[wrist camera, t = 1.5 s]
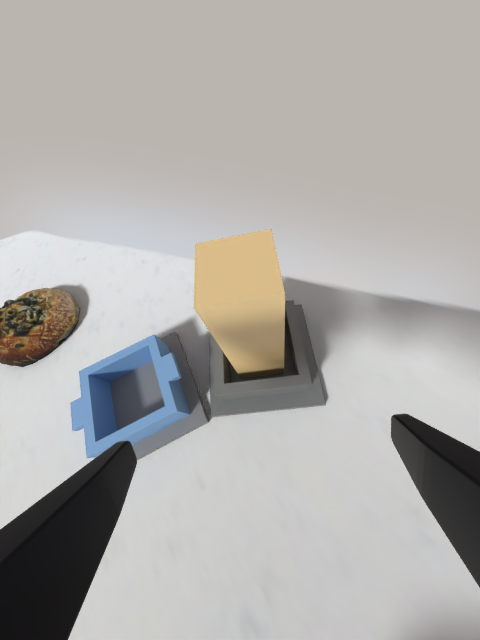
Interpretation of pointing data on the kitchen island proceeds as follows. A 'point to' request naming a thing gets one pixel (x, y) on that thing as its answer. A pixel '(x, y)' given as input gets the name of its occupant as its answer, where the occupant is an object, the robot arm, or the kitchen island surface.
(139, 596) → the kitchen island surface
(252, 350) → the tall tan pillar
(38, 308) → the bread roll
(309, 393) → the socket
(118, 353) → the blue bezel socket
